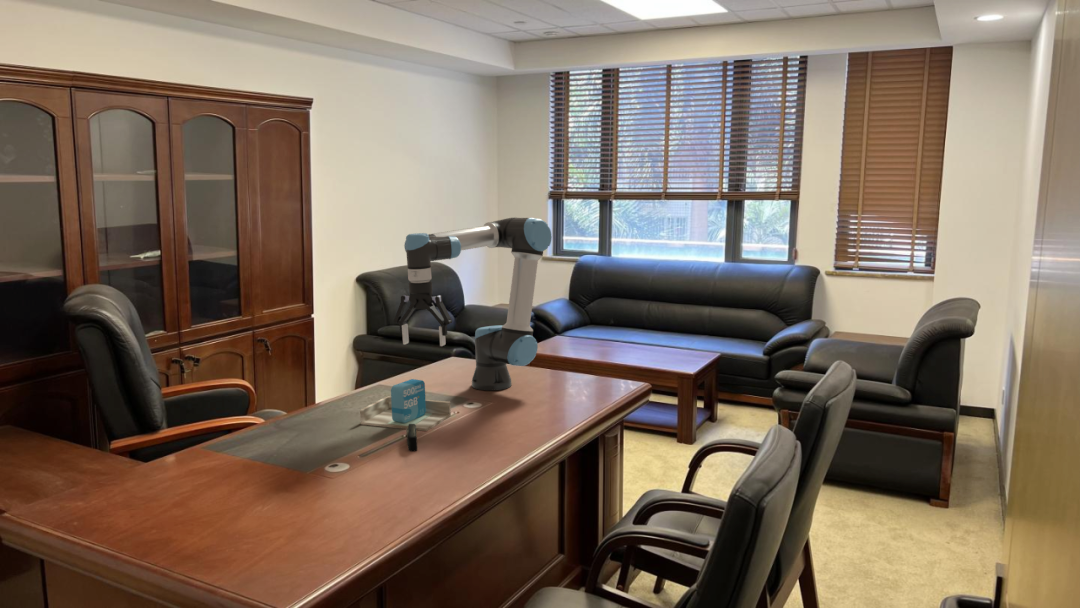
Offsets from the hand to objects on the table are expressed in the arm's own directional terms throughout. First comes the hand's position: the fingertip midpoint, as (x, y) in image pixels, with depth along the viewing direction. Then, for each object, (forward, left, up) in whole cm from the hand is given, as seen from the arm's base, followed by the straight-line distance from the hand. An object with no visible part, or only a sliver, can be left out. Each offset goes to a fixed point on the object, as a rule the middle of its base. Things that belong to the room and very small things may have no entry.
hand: (424, 344), depth 256 cm
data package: (+8, -2, -23) cm, 25 cm away
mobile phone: (+27, +9, -25) cm, 38 cm away
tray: (+7, -4, -24) cm, 25 cm away
